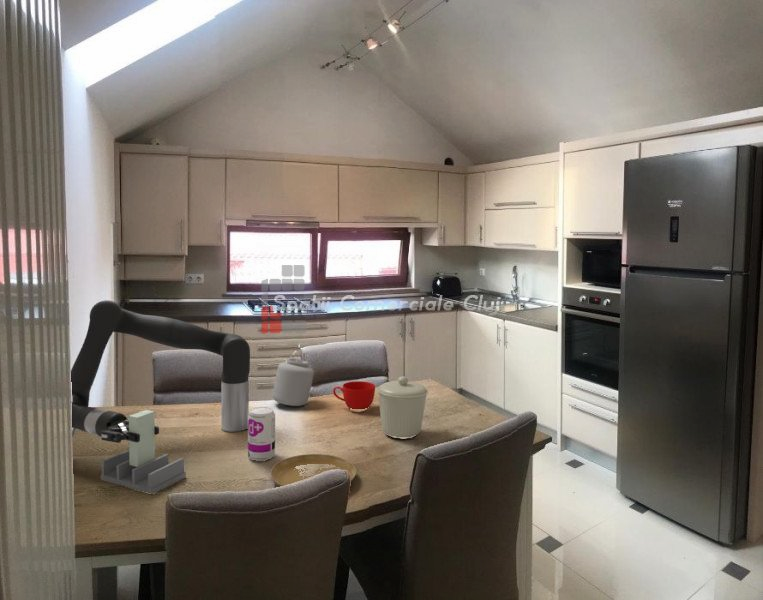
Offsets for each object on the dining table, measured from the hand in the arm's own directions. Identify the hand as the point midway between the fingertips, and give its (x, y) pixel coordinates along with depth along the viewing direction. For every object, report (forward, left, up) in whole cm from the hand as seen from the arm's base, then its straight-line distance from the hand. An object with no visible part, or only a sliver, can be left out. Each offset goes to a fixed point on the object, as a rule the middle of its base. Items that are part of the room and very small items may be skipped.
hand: (148, 434), depth 148 cm
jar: (-42, -64, -13) cm, 78 cm away
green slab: (+2, -1, -8) cm, 9 cm away
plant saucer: (-45, +6, -14) cm, 48 cm away
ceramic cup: (-65, -55, -13) cm, 87 cm away
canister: (-78, -26, -13) cm, 84 cm away
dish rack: (+2, -1, -13) cm, 13 cm away
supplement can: (-30, -12, -13) cm, 35 cm away
